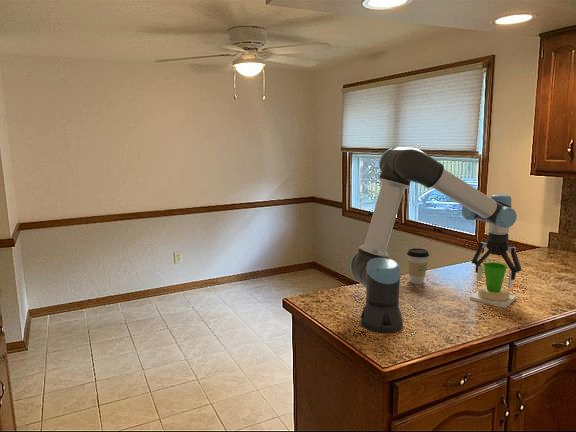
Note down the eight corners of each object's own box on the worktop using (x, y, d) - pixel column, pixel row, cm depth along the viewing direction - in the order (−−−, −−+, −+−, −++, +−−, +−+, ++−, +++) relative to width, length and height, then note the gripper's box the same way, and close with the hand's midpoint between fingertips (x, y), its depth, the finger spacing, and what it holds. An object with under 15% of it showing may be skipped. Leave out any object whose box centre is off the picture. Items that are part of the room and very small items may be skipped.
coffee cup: (430, 285, 203) (432, 253, 200) (408, 285, 203) (410, 253, 200) (424, 278, 213) (425, 247, 210) (403, 278, 213) (404, 247, 210)
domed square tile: (505, 308, 176) (505, 299, 175) (469, 299, 185) (470, 290, 185) (516, 298, 186) (517, 290, 185) (482, 290, 195) (482, 282, 195)
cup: (500, 286, 189) (502, 262, 187) (509, 294, 180) (511, 268, 178) (478, 286, 190) (480, 261, 188) (486, 294, 181) (487, 268, 179)
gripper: (533, 235, 175) (528, 288, 179) (472, 227, 191) (468, 275, 195) (527, 238, 170) (522, 292, 174) (465, 229, 186) (462, 279, 190)
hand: (494, 283), depth 184 cm, fingers open, 11 cm apart
